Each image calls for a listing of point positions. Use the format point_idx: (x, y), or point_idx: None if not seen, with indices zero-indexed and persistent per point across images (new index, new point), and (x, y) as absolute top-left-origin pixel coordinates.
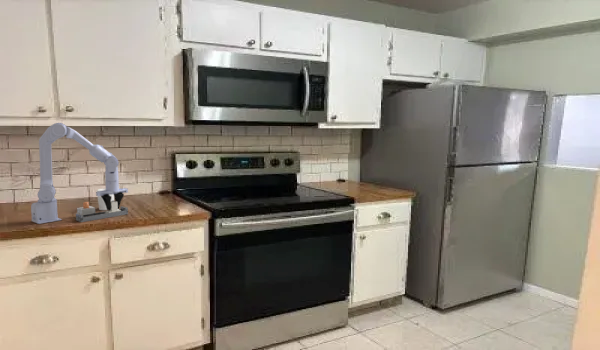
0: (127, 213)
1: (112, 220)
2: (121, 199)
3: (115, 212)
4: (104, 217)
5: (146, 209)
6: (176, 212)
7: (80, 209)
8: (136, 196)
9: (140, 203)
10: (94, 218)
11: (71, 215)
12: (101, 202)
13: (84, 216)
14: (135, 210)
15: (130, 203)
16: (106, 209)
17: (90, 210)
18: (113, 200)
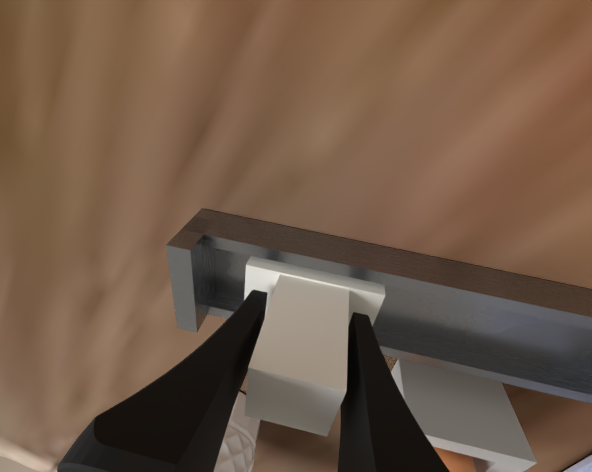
0: (203, 212)
1: (517, 101)
2: (176, 370)
3: (325, 256)
4: (445, 263)
5: (7, 212)
6: None
7: (515, 470)
8: (8, 430)
9: (15, 354)
10: (556, 290)
11: None
12: (246, 465)
13: (556, 375)
14: (96, 256)
15: (66, 387)
16: (240, 396)
17: (450, 419)
18: None
